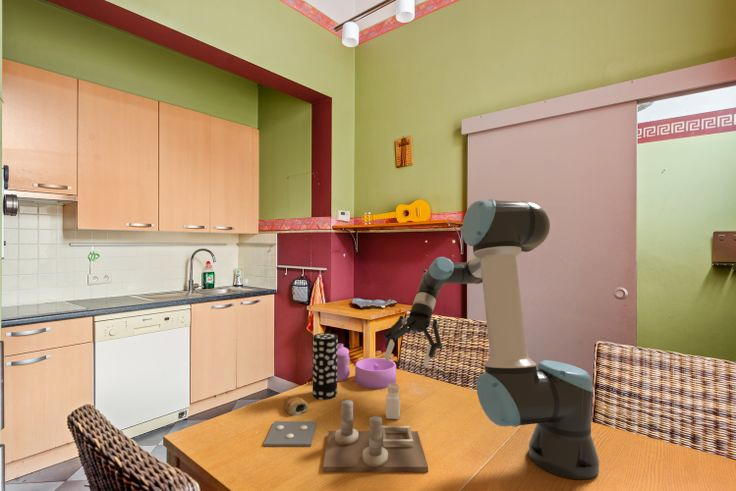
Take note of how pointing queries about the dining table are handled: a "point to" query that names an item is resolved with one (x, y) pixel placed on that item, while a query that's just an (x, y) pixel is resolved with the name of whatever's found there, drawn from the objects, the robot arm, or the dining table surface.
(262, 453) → the dining table surface
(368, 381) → the container set
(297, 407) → the pastry
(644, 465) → the dining table surface
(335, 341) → the spotted tube
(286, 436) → the tile
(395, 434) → the pin board
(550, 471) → the robot arm
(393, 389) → the pepper shaker
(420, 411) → the dining table surface
